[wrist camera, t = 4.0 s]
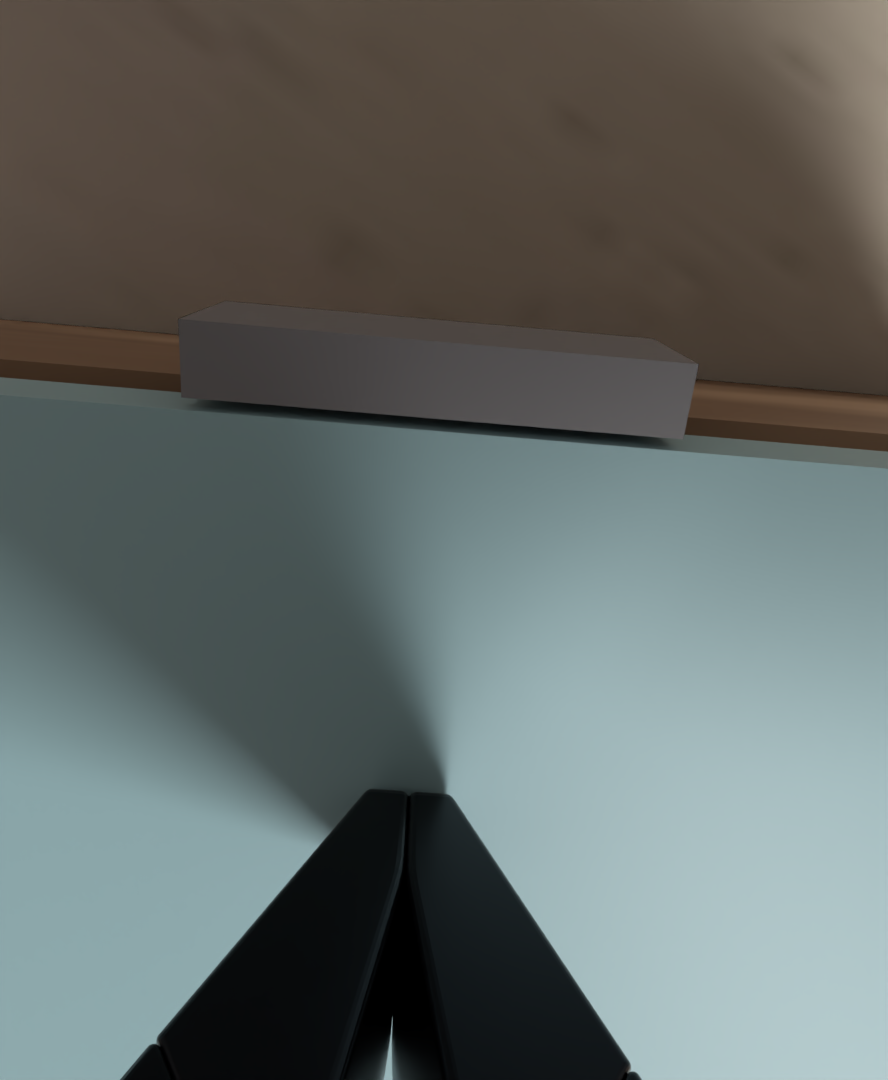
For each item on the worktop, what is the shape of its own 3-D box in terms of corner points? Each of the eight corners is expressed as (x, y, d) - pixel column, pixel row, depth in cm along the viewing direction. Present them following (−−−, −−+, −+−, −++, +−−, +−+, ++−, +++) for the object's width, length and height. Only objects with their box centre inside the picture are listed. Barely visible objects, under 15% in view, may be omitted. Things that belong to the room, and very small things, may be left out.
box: (781, 939, 16) (928, 1213, 11) (-15, 890, 15) (-216, 1158, 11) (925, 399, 13) (1218, 462, 8) (-77, 313, 12) (-408, 324, 7)
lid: (898, 1152, 12) (953, 1265, 11) (-172, 1096, 11) (-251, 1208, 10) (1267, 392, 8) (1439, 428, 6) (-449, 241, 7) (-649, 247, 6)
